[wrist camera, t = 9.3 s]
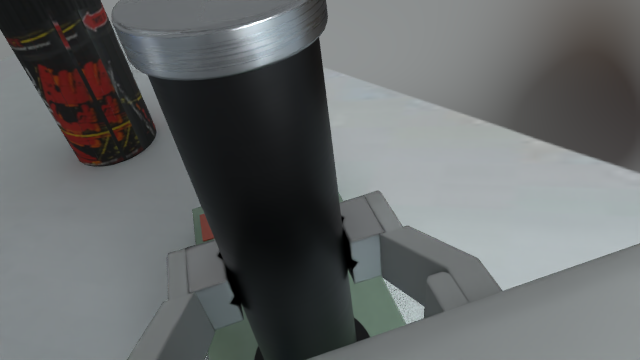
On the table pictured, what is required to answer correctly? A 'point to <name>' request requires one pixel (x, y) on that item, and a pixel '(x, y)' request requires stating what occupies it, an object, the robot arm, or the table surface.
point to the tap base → (367, 301)
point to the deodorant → (80, 76)
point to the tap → (256, 155)
